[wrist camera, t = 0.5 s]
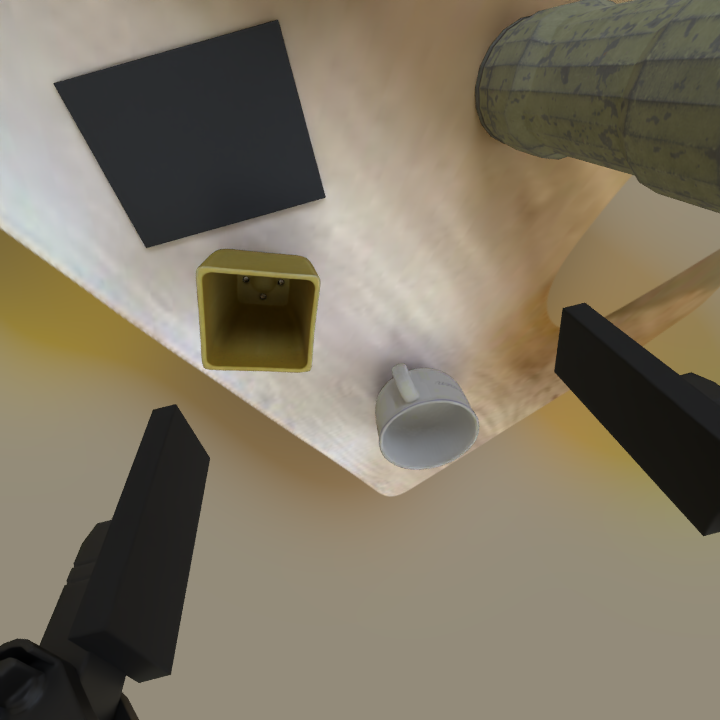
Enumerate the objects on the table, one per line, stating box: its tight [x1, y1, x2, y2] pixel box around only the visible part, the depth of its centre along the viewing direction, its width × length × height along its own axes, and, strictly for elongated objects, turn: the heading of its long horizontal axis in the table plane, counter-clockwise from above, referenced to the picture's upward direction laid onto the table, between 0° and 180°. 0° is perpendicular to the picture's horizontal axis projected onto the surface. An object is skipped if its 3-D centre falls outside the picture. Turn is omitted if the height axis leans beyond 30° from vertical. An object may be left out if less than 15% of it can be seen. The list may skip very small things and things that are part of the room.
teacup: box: [375, 363, 479, 470], centre depth 45 cm, size 14×11×8 cm
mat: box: [54, 20, 325, 248], centre depth 31 cm, size 12×16×1 cm
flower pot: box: [196, 249, 320, 373], centre depth 35 cm, size 9×9×9 cm
